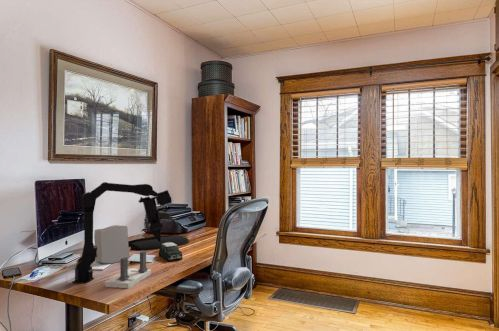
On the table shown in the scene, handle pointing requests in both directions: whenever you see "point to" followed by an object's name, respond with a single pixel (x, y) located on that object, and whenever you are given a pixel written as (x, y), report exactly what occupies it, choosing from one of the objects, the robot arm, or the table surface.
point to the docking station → (156, 242)
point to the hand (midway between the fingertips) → (158, 238)
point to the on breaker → (143, 262)
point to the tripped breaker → (124, 269)
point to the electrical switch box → (111, 244)
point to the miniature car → (170, 251)
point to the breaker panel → (133, 279)
